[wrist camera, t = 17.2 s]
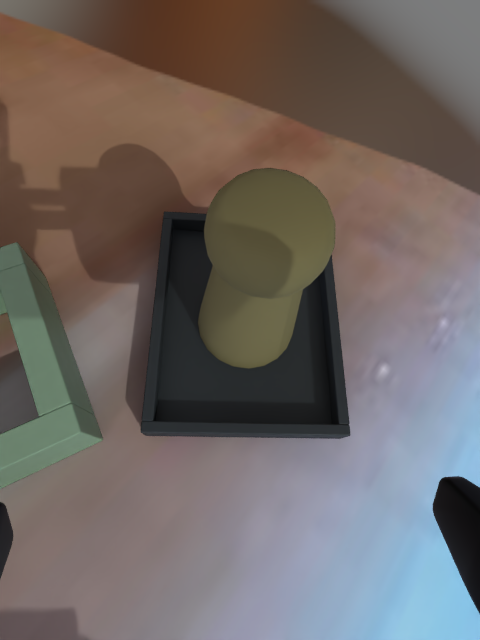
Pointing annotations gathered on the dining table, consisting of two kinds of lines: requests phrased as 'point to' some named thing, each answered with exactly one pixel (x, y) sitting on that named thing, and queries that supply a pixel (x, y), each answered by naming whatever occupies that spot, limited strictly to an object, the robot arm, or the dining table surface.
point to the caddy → (41, 374)
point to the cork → (261, 263)
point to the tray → (234, 382)
